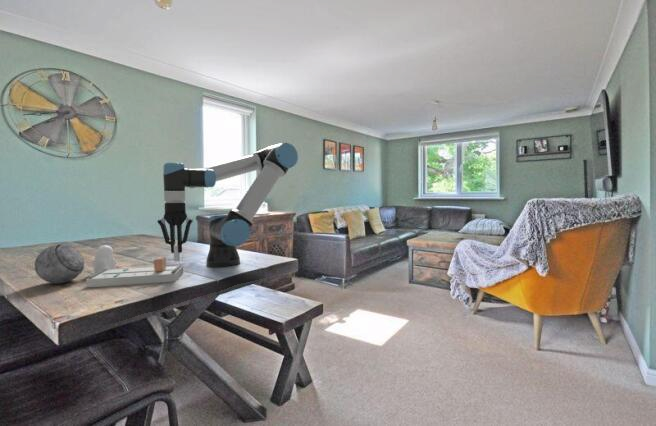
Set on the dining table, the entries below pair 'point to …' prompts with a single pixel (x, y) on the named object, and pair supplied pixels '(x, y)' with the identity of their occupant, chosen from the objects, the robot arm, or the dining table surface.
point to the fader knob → (159, 264)
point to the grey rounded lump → (59, 263)
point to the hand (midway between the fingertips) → (176, 260)
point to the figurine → (104, 259)
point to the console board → (134, 276)
